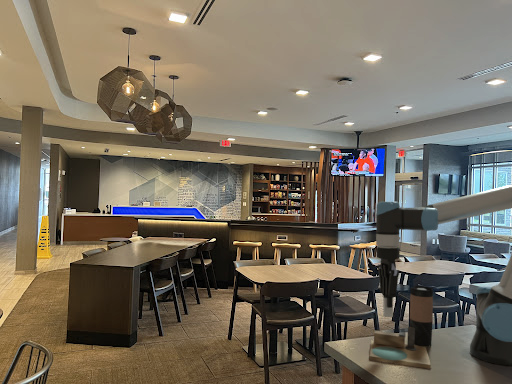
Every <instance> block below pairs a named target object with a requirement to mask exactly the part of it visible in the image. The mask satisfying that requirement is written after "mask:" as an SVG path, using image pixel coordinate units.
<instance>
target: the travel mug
mask: <svg viewBox="0 0 512 384" xmlns="http://www.w3.org/2000/svg"><path fill="white" fill-rule="evenodd" d="M409 301H410V302H409V327H413V328H415V341H414V345H415V346H423V347H426V348H427V347H431V346H432V339H433V338H432V337H433V316H434V315H433V314H434V312H433V311H434V310H433V309H434V306H433V305H434V304H433V302H434V290H433V288H432V287H429V286H424V285H414V286H413V287H412V286H411V287H410V300H409Z"/></svg>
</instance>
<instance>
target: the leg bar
mask: <svg viewBox="0 0 512 384" xmlns="http://www.w3.org/2000/svg"><path fill="white" fill-rule="evenodd" d="M373 340H374V343H376V344H383V345H390V346H397V347H403V348H405V344H406V332H402V331H399V333H398V332H397V333H396V332H388V331H381V330H374V333H373Z"/></svg>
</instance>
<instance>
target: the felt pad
mask: <svg viewBox="0 0 512 384" xmlns="http://www.w3.org/2000/svg"><path fill="white" fill-rule="evenodd" d="M372 353H373V354H375V355H376V356H378V357H381V358H383V359H387V360H403V359H405V358H407V354H406V353H405V352H403V351H402V350H399V349H396V348H391V347H376V348H374V349H372Z"/></svg>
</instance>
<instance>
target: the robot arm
mask: <svg viewBox="0 0 512 384" xmlns="http://www.w3.org/2000/svg"><path fill="white" fill-rule="evenodd" d="M510 209H511V210H512V183H511V184H510V185H509V184H508V185H505V186H501V187H497V188H493V189H488V190H485V191H480V192H477V193H472V194H467V195H463V196H460V197H456V198H451V199H447V200H444V201H439V202H435V203H432V204H428V205H423V206H417V207H402V206H400V203H399V201H379V202H377V204H376V212H375V213H376V214H375V218H376V219H375V222H376V224H375V225H376V227H375V230H376V234H375V237H376V239H375V242H376V243H375V244H376V246H377V247H376V253H375V254H376V258H377V259H380V264H377V271H378V279H379V289H380V290H379V291H380V294H382V296H383V297H382V299H383V302H382V303H383V311H382V312H383V317H384V318H393V317H394V298H397V293H398V292H397V291H398V284H399V283H398V281H399V276H400V270H399V269H397V265H396V260H398V259H400V258H401V255H400V252H401V251H400V248H399V246H400V240H401V237H400V230H404V231H405V230H407V231H409V230H410V231H426V232H429V231H437V230H438V229H439V225H441V224H446V223H451V222H455V221H456V222H457V221H461V220H465V219H469V218H473V217H474V218H475V217H477V216H478V217H479V216H483V215H487V214H488V215H489V214H491V213H497V212H500V211H502V212H503V211H505V210H510ZM475 297H476V312H475V314H476V316H475V317H476V319H475V320H476V321H475V322H476V323H475V325H476V326H475V327H476V328H475V332H474V334H473V338H472V339H471V343H470V344H469V353H470V354H471V356H473V357H474V358H476V359H479V360H482V361H484V362H487V363H492V364H496V365H499V366H500V365H501V366H512V253H511V255H510V257H509V259H508V262H507V264H506V266H505V269H504V272H503V274H502V276H501V278H500V281H499V283H497V284H496V285H493V286H478V287H477V289H476V294H475Z"/></svg>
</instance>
